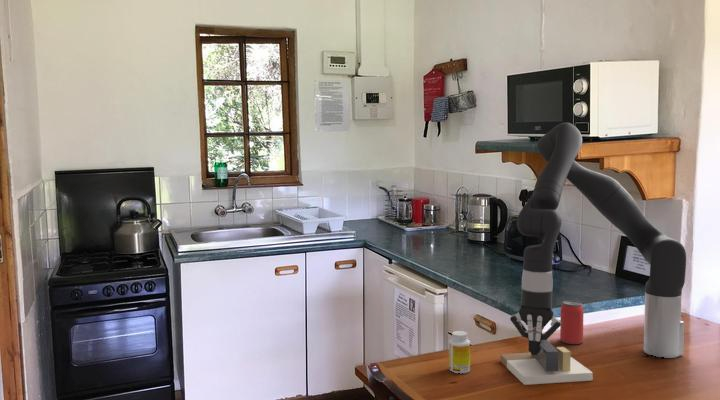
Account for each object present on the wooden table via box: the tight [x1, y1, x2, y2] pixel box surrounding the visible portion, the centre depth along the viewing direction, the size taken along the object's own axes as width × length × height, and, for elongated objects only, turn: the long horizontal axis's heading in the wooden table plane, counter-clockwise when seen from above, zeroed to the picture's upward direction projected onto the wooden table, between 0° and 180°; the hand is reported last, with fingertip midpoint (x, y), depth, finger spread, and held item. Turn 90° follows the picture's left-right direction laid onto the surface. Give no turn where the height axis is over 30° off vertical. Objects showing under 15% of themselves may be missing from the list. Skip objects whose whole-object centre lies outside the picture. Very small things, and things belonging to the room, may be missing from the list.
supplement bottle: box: [448, 330, 471, 375], centre depth 162 cm, size 6×6×10 cm
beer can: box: [559, 299, 585, 345], centre depth 185 cm, size 7×7×12 cm
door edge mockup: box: [499, 327, 594, 386], centre depth 162 cm, size 18×17×11 cm
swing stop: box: [533, 339, 558, 371], centre depth 159 cm, size 12×3×5 cm, turn 0°
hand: (534, 354), depth 157 cm, fingers closed
